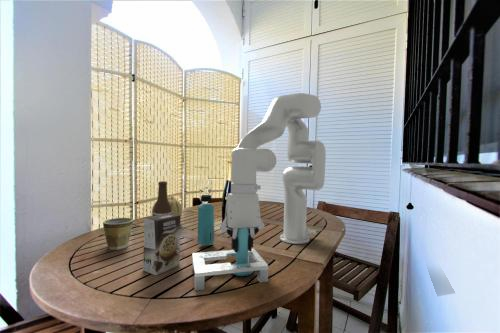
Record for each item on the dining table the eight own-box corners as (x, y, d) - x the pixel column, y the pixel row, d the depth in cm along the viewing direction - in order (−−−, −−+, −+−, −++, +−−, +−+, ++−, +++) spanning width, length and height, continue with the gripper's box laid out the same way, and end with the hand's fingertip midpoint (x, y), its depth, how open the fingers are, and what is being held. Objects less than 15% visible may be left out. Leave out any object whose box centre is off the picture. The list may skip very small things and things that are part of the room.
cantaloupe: (153, 222, 129) (153, 194, 129) (182, 221, 133) (182, 193, 132) (148, 230, 115) (149, 198, 114) (181, 229, 118) (181, 198, 118)
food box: (156, 276, 70) (156, 220, 70) (142, 270, 74) (143, 217, 73) (180, 265, 78) (181, 214, 78) (167, 260, 82) (167, 212, 81)
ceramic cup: (137, 246, 93) (137, 220, 93) (108, 253, 86) (108, 225, 86) (124, 239, 102) (124, 215, 102) (96, 244, 95) (96, 219, 95)
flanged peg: (249, 264, 78) (250, 214, 78) (255, 274, 71) (257, 219, 71) (228, 266, 76) (229, 215, 76) (233, 276, 69) (234, 220, 69)
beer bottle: (148, 238, 103) (148, 181, 103) (161, 233, 110) (162, 180, 110) (162, 241, 100) (163, 182, 100) (175, 236, 107) (176, 181, 107)
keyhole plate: (253, 261, 82) (253, 248, 82) (267, 281, 69) (268, 265, 69) (192, 267, 77) (192, 253, 76) (194, 290, 63) (195, 273, 63)
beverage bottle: (210, 250, 92) (211, 196, 91) (194, 248, 93) (195, 195, 92) (216, 244, 98) (217, 194, 98) (201, 242, 99) (201, 193, 99)
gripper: (265, 187, 79) (264, 244, 79) (213, 188, 74) (212, 248, 75) (274, 190, 72) (272, 252, 72) (217, 191, 67) (216, 257, 68)
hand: (242, 249), depth 74 cm, fingers closed on flanged peg, 3 cm apart
